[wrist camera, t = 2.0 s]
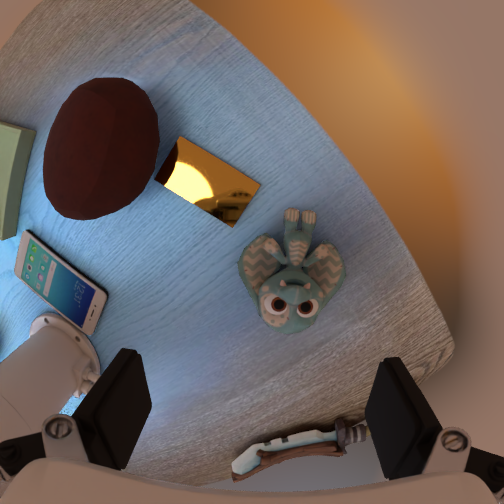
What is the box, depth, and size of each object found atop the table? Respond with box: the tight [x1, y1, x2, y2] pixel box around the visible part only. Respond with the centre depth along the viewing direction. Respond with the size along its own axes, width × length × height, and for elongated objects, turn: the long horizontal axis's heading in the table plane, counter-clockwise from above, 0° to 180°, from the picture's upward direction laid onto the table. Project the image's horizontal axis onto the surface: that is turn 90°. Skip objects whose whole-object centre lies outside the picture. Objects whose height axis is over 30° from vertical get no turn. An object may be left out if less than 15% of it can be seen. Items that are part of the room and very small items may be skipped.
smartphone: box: [14, 230, 108, 335], centre depth 31 cm, size 8×1×15 cm
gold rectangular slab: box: [154, 136, 260, 228], centre depth 28 cm, size 9×1×5 cm
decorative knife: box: [231, 418, 371, 483], centre depth 35 cm, size 4×9×30 cm
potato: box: [43, 78, 160, 220], centre depth 23 cm, size 11×13×10 cm
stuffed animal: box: [237, 208, 346, 334], centre depth 27 cm, size 11×7×12 cm
